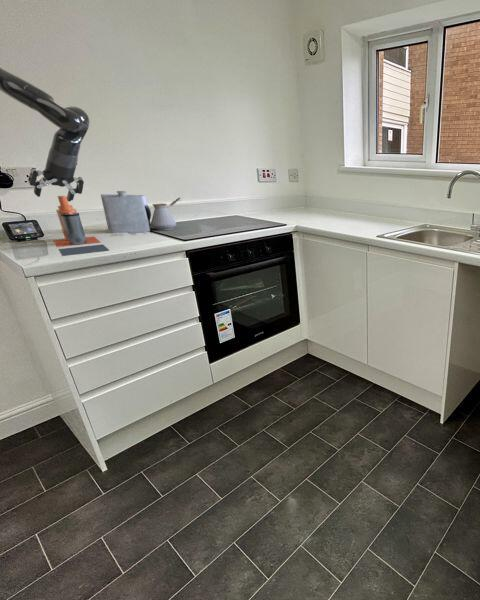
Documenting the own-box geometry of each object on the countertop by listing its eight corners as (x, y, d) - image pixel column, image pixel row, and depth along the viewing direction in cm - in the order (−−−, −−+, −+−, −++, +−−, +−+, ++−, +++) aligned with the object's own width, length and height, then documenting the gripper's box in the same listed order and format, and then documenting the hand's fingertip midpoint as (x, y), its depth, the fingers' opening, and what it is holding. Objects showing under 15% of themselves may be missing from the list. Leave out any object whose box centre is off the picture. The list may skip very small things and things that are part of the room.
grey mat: (62, 256, 131) (61, 254, 131) (58, 250, 139) (58, 249, 138) (109, 250, 141) (108, 249, 141) (103, 245, 148) (103, 244, 148)
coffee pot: (166, 231, 180) (160, 201, 174) (146, 230, 181) (139, 200, 176) (194, 225, 200) (190, 197, 194) (176, 223, 201) (171, 196, 196)
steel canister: (70, 245, 144) (60, 214, 140) (68, 243, 148) (59, 213, 144) (88, 243, 148) (79, 213, 144) (86, 241, 152) (77, 212, 148)
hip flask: (149, 230, 181) (140, 190, 174) (151, 231, 178) (141, 190, 171) (111, 233, 171) (99, 190, 164) (111, 234, 169) (100, 191, 161)
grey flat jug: (154, 228, 187) (147, 194, 180) (151, 230, 182) (143, 194, 176) (112, 228, 182) (103, 193, 175) (107, 230, 177) (98, 194, 171)
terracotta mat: (57, 248, 141) (57, 247, 141) (53, 241, 152) (52, 240, 152) (101, 243, 151) (101, 242, 151) (94, 237, 162) (94, 236, 162)
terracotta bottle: (66, 241, 150) (52, 196, 144) (64, 239, 154) (50, 195, 148) (85, 239, 155) (72, 196, 148) (83, 237, 159) (70, 195, 152)
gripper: (84, 161, 133) (75, 196, 140) (31, 148, 121) (24, 187, 127) (90, 172, 131) (80, 207, 137) (37, 160, 119) (29, 199, 125)
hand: (53, 197), depth 132 cm, fingers open, 8 cm apart
